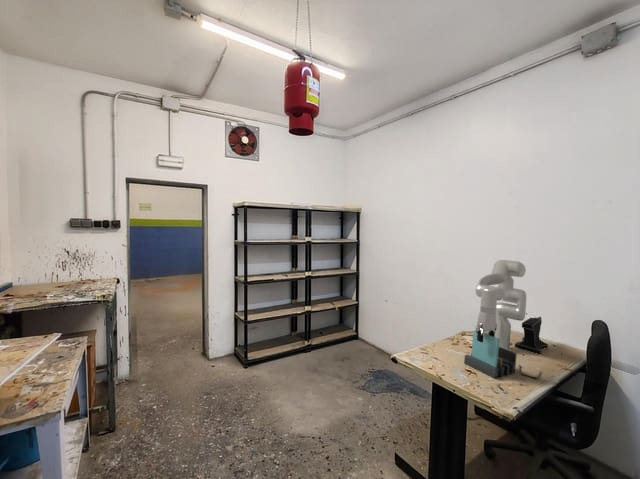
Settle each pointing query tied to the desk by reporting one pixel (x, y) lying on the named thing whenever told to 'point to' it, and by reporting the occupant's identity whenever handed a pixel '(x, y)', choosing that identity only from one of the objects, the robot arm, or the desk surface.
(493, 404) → the desk surface
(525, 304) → the robot arm
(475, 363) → the offcut rack
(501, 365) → the oak offcut
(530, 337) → the anvil
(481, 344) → the tall sheet
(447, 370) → the desk surface
